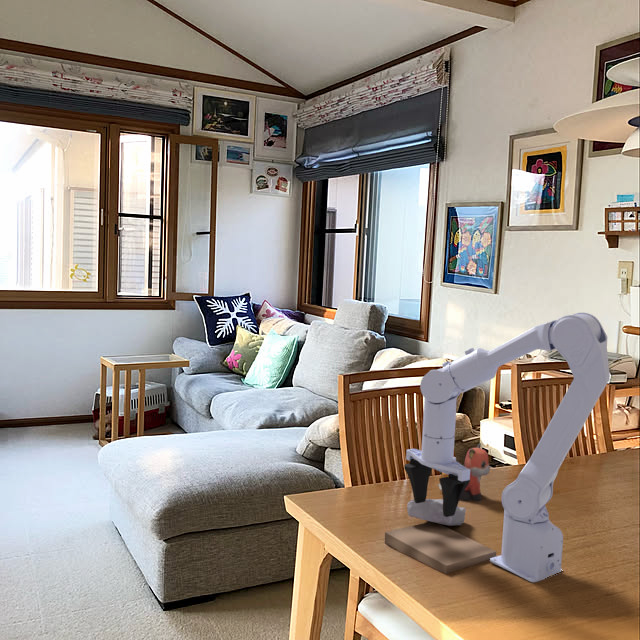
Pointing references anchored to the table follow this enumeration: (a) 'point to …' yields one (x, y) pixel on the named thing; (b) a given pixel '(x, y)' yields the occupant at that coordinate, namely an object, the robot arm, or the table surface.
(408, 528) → the walnut base
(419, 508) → the stone block
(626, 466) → the table surface
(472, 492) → the stuffed fox
